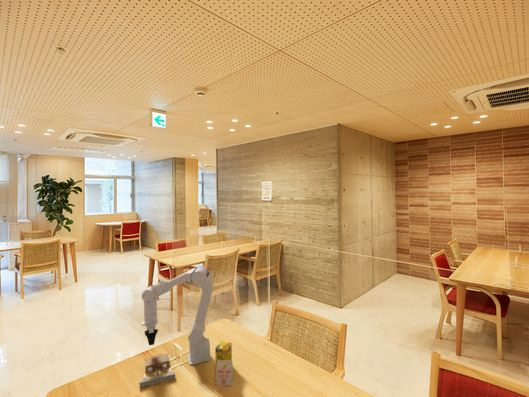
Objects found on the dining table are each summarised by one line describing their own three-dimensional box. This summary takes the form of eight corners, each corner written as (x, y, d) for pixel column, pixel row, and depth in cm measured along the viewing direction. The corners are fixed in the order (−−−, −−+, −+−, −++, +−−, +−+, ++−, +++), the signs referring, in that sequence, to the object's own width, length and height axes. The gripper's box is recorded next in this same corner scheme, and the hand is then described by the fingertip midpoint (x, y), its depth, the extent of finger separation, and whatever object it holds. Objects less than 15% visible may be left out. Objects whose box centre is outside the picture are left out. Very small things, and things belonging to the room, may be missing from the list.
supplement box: (228, 373, 121) (227, 349, 120) (215, 372, 122) (214, 348, 122) (232, 365, 127) (232, 342, 126) (220, 363, 128) (219, 340, 127)
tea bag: (217, 379, 118) (217, 356, 117) (233, 380, 117) (232, 357, 116) (215, 385, 114) (215, 362, 113) (231, 386, 113) (231, 363, 113)
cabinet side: (174, 372, 122) (174, 367, 122) (175, 378, 118) (175, 373, 118) (140, 380, 117) (139, 375, 117) (139, 388, 113) (139, 382, 113)
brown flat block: (168, 358, 132) (168, 353, 132) (169, 369, 124) (169, 364, 124) (145, 363, 128) (145, 358, 128) (145, 375, 120) (145, 369, 120)
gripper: (141, 307, 135) (142, 334, 136) (141, 321, 122) (142, 350, 122) (157, 305, 138) (157, 331, 139) (158, 317, 125) (159, 346, 125)
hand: (151, 340), depth 131 cm, fingers open, 7 cm apart
